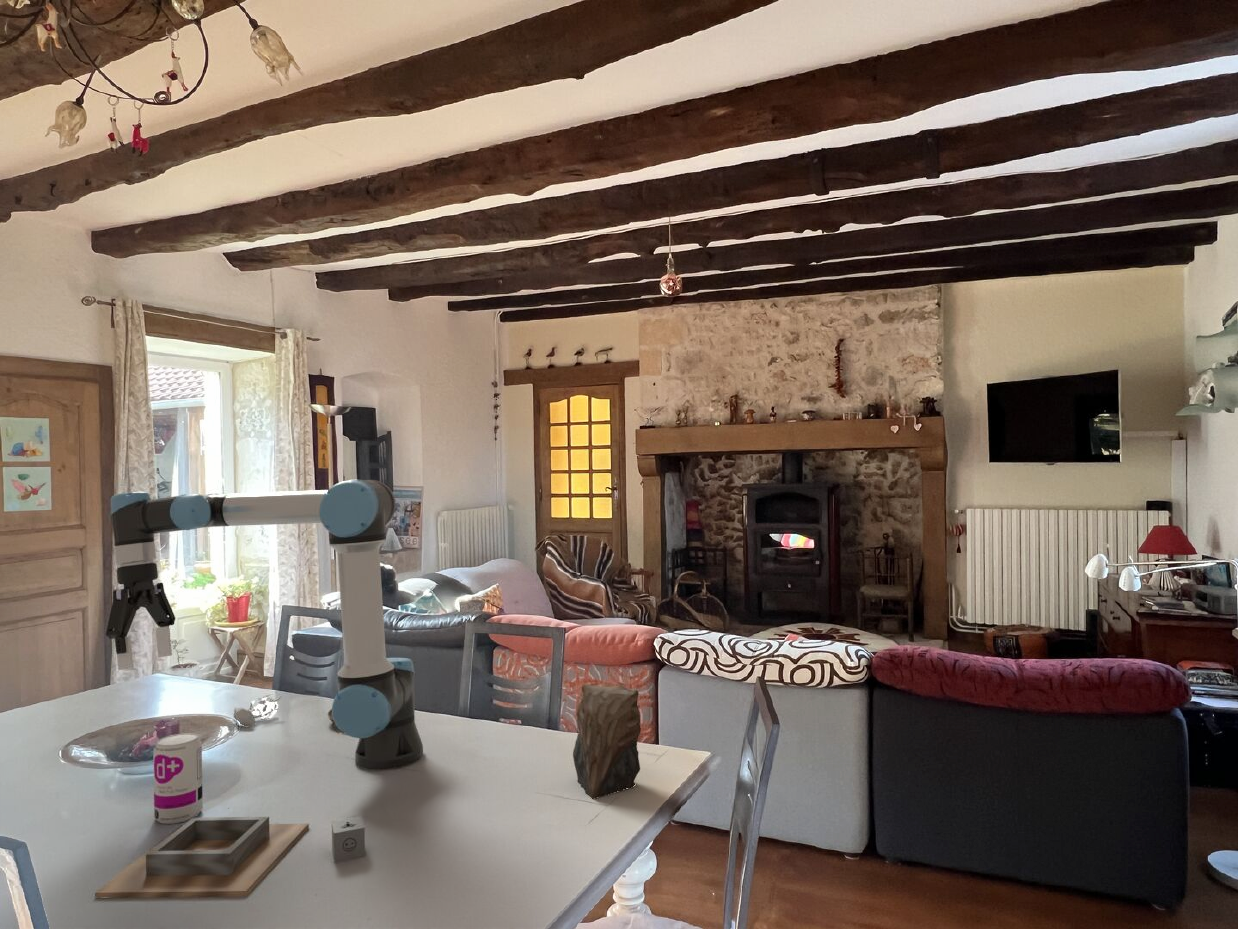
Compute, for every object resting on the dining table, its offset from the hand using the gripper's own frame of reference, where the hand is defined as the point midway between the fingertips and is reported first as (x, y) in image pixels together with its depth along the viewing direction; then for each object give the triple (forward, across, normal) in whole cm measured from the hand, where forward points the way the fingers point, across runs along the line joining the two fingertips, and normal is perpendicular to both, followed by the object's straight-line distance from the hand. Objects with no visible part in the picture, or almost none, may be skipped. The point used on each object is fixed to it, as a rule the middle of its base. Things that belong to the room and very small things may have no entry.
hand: (146, 662), depth 172 cm
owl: (+37, +2, +94) cm, 101 cm away
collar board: (+32, +32, +29) cm, 54 cm away
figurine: (+25, -45, 0) cm, 52 cm away
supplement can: (+29, +14, +13) cm, 35 cm away
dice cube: (+34, +30, +52) cm, 69 cm away
